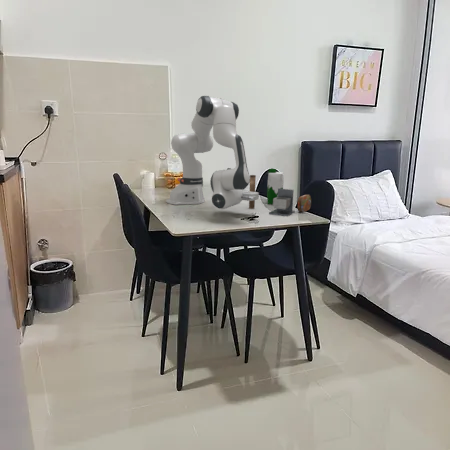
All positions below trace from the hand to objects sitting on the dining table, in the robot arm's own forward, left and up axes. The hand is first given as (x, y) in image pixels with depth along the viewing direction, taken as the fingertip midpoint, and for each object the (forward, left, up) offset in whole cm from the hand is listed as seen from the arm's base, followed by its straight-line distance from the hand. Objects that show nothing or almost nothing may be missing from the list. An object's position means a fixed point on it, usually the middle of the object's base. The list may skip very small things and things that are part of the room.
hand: (244, 192), depth 211 cm
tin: (+31, -11, -10) cm, 34 cm away
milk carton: (+28, +13, -10) cm, 33 cm away
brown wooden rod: (+8, +5, -10) cm, 14 cm away
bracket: (+16, -12, -10) cm, 22 cm away
